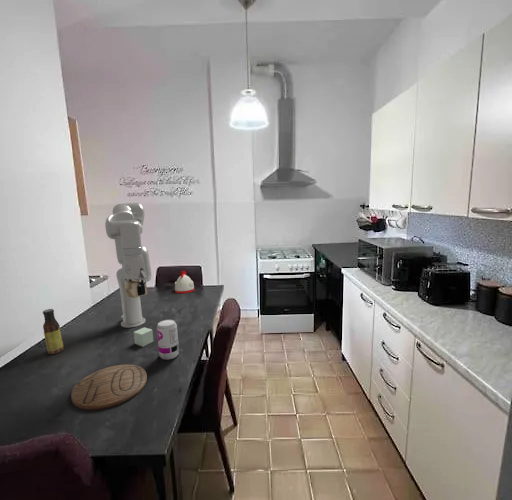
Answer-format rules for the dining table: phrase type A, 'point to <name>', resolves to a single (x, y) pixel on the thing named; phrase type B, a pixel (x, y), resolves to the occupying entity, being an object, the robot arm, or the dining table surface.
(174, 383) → the dining table surface
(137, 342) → the sage cube
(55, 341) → the sauce bottle
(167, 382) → the dining table surface
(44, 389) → the dining table surface
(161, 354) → the supplement can
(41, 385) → the dining table surface
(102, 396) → the trivet
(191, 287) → the white and red dome
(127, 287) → the beech cube
